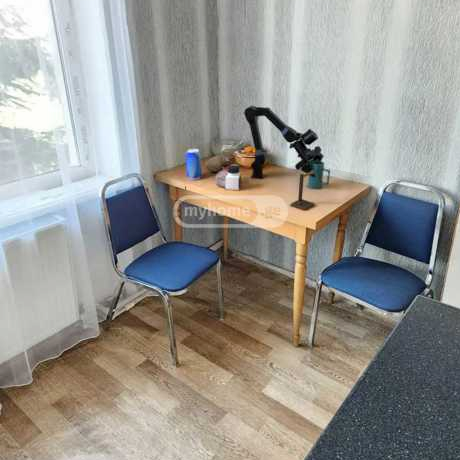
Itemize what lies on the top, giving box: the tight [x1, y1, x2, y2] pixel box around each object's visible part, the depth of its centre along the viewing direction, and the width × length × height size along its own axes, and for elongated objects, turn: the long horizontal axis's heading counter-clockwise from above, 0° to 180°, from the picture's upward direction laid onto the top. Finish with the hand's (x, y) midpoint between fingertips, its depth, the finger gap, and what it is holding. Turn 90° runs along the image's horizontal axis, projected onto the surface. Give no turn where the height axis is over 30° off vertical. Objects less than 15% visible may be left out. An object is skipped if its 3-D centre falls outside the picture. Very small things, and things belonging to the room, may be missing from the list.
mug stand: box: [290, 170, 316, 212], centre depth 186 cm, size 8×16×14 cm, turn 135°
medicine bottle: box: [225, 164, 242, 191], centre depth 206 cm, size 7×7×12 cm
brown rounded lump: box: [204, 154, 230, 173], centre depth 236 cm, size 13×8×20 cm
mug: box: [307, 160, 331, 190], centre depth 206 cm, size 12×7×13 cm, turn 44°
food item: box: [215, 166, 228, 189], centre depth 211 cm, size 14×8×10 cm, turn 156°
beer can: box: [185, 148, 203, 181], centre depth 219 cm, size 8×8×16 cm
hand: (318, 174), depth 206 cm, fingers closed on mug, 7 cm apart
